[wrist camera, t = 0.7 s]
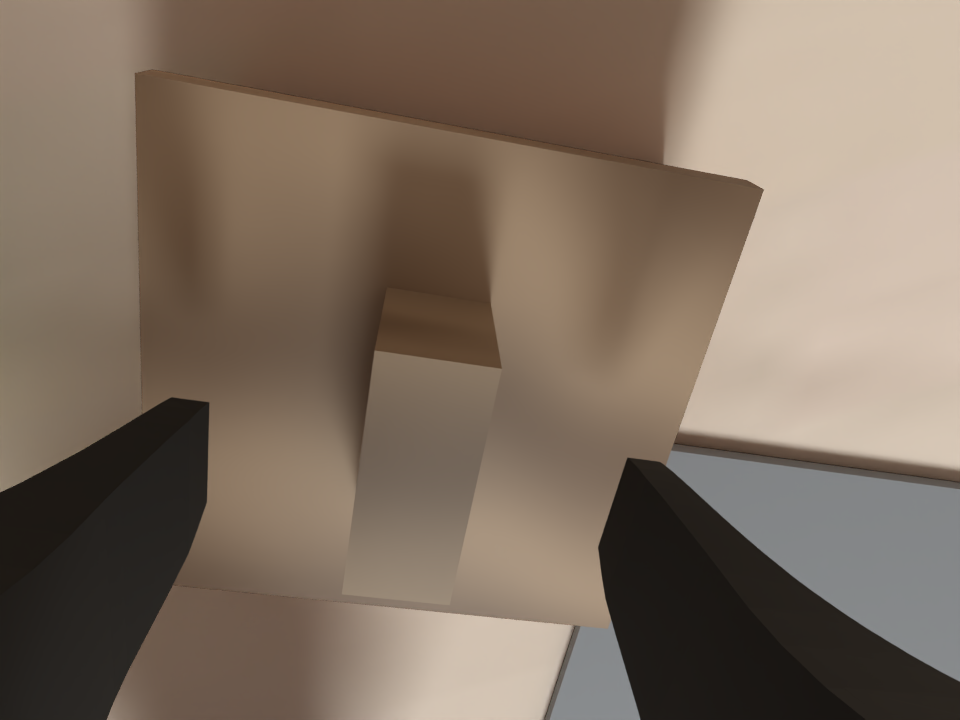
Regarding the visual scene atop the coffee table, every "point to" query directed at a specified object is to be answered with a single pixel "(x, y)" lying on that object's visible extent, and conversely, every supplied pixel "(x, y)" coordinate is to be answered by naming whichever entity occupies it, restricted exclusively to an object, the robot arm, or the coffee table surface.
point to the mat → (811, 560)
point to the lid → (416, 343)
